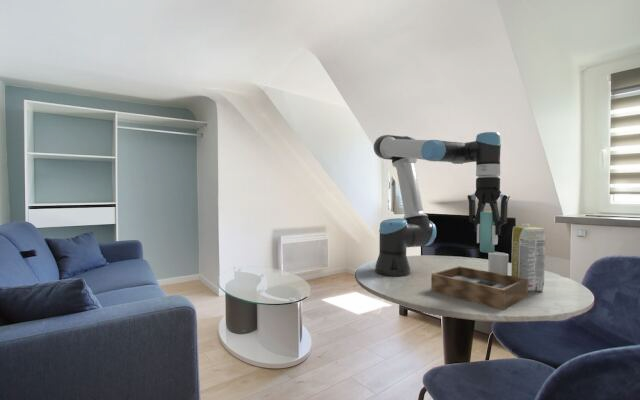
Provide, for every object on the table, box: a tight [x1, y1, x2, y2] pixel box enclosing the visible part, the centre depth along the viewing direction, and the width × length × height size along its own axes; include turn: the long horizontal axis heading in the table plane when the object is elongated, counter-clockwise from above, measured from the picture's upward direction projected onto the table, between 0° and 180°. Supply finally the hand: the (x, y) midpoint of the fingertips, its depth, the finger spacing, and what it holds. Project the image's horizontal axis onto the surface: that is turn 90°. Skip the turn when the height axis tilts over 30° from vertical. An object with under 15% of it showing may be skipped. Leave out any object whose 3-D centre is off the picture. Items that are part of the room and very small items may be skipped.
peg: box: [479, 211, 495, 254], centre depth 111 cm, size 4×4×14 cm
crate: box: [430, 265, 529, 311], centre depth 110 cm, size 24×20×6 cm
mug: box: [487, 251, 509, 275], centre depth 123 cm, size 10×7×12 cm, turn 170°
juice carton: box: [510, 223, 546, 292], centre depth 116 cm, size 9×8×24 cm
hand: (487, 243), depth 111 cm, fingers closed on peg, 4 cm apart
